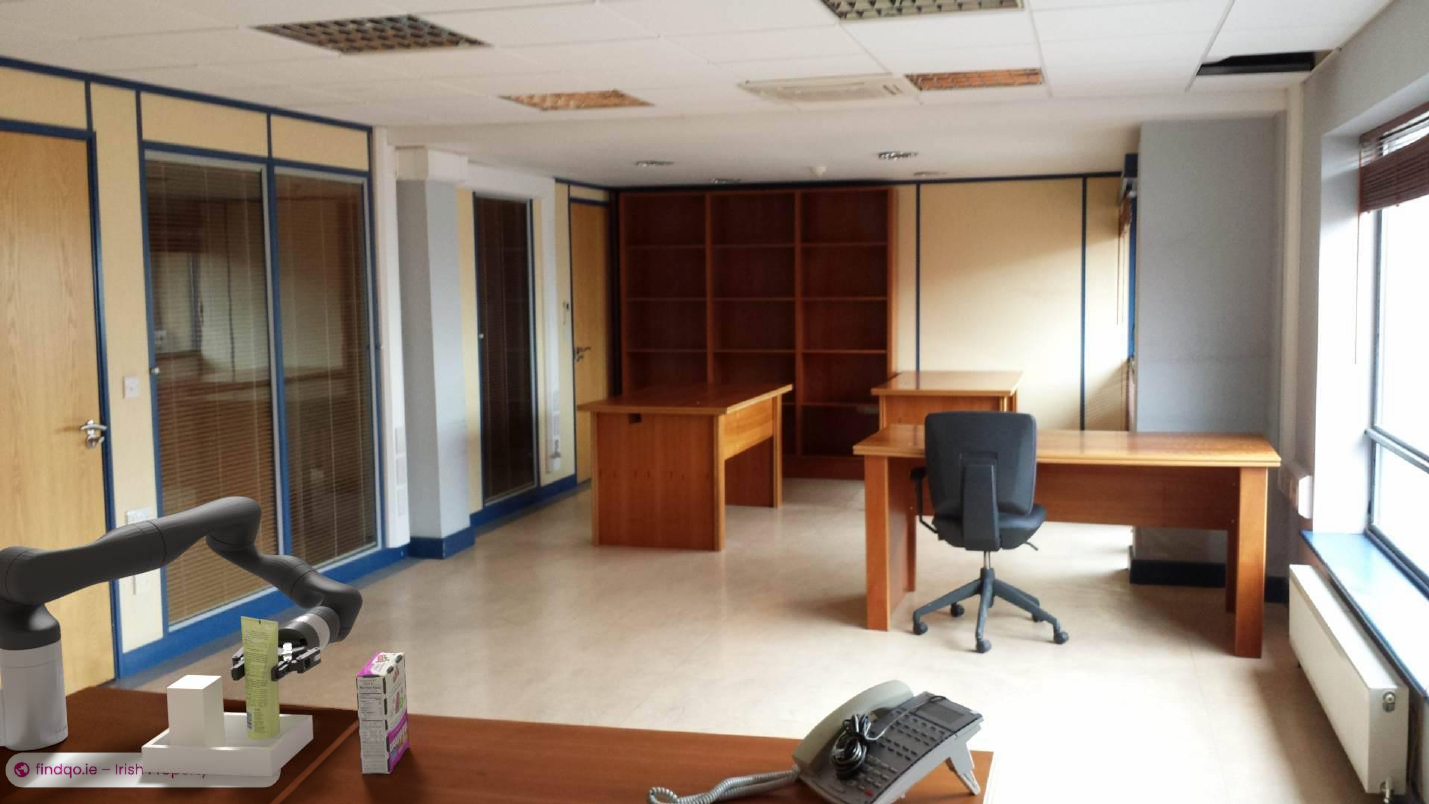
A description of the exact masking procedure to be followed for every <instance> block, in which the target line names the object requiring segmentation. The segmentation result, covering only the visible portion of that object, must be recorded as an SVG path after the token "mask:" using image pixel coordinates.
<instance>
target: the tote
mask: <svg viewBox="0 0 1429 804" xmlns="http://www.w3.org/2000/svg"><path fill="white" fill-rule="evenodd" d="M279 716H280V733H279V734H278V735H277V736H275V737H273V738H269V739H263V740H255V739H251V738H249V737H248V731H247V712H227V711H224V727H225V747H202V746H174V745H170V736H169V727H168V728H166V729H165V730H164V731H162V732H161V733H160V734H158V735H157V736H155V737H154V738H152V739H151V740H150V741H148V742H147V743H145V744H144V745H142V746H141V758H142V759H141V760H142V761H141V762H142V772H143V773H165V774H169V773H170V774H188V775H189V774H190V775H191V774H192V775H193V774H195V775H219V776H221V775H222V776H243V777H245V776H247V777H248V776H249V777H273V776H275V774H276V773H278V771H279V770H281V769H282V768H283V767H284V766H285V765H286V764H287V763H288V762H289V761H290V760H291V759H292V758H294V757H295V756H296V755H297V754H298V753H299V752H300V751H301V750H302V749H304V747H306V745H308V744H309V743H310V742H312V741H313V740H314V729H313V727H314V725H313V724H314V723H313V715H312V714H310V715H309V714H289V713H288V714H287V713H285V714H284V713H283V714H282V713H279Z"/></svg>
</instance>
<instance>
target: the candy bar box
mask: <svg viewBox="0 0 1429 804" xmlns="http://www.w3.org/2000/svg"><path fill="white" fill-rule="evenodd" d="M405 658H406V657H405V652H404V651H403V652H402V651H401V652H399V651H398V652H396V651H395V652H394V651H390V652H389V651H387V652H385V651H379V652H376V653H375V654H374V655H373V656H372V658H371V659H370V660H369V661H368V662H367V663H366V664H365V665H364V667H362V668H361V670H360V671H358V673H357V674H356V675H355V684H356V701H357V703H356V704H357V716H358V719H357V720H358V735H359V736H358V738H359V753H360V755H359V757H360V770H361V771H360V772H361V774H362V775H390V774H391V773H392V772H393V770H395V768H396V765H398V762H399V761H400V760H401V758H402V757H403V755H404V754H405V752H406V751H407V750H408V748H409V747H410V739H409V736H410V735H409V721H408V720H409V718H408V699H407V683H406V682H407V681H406V663H405V662H406V660H405Z"/></svg>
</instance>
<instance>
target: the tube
mask: <svg viewBox="0 0 1429 804" xmlns="http://www.w3.org/2000/svg"><path fill="white" fill-rule="evenodd" d="M240 623H241V624H240V625H241V636H242V637H241V638H242V647H243V654H244V670H245V676H244V683H245V685H244V687H245V706H246V713H247V731H248V737H249V738H251V739H255V740H263V739H269V738H273V737H275V736H277V735H278V734H279V733H280V716H279V714H280V691H279V689H280V688H279V687H280V686H279V685H280V684H279V680H278V681H277V682H273V681H271V669H272V668H273V667H274V666H275V665H277V664H278V629H279V621H274V620H267V619H260V618H254V617H249V616H242V615H241V616H240Z"/></svg>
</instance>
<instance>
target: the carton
mask: <svg viewBox="0 0 1429 804" xmlns="http://www.w3.org/2000/svg"><path fill="white" fill-rule="evenodd" d="M223 693H224V692H223V676H222V675H199V674H198V675H197V674H187V675H186V674H185V676H183V677H181V678H180V679H179V680H177V681H174V683H172V684H170V685H168V686H167V687H166V696H167V697H166V698H167V700H166V701H167V716H168V717H167V718H168V728H169V736H170V745H174V746H202V747H225V727H224V712H225V711H224V696H223V695H224V694H223Z"/></svg>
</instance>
